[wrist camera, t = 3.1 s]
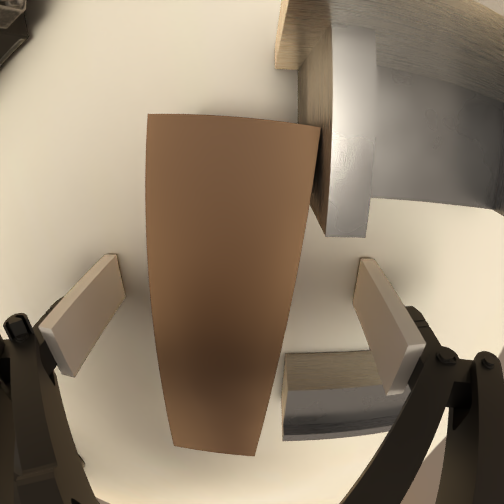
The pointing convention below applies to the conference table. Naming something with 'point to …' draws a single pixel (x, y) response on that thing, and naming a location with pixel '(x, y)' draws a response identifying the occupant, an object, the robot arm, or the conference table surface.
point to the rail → (223, 266)
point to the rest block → (335, 397)
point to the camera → (11, 27)
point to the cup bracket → (398, 102)
